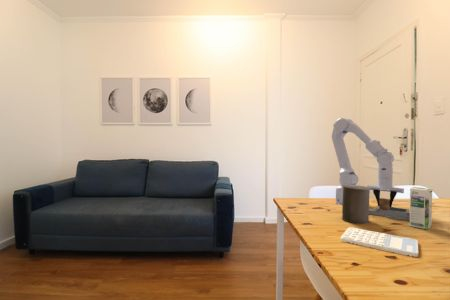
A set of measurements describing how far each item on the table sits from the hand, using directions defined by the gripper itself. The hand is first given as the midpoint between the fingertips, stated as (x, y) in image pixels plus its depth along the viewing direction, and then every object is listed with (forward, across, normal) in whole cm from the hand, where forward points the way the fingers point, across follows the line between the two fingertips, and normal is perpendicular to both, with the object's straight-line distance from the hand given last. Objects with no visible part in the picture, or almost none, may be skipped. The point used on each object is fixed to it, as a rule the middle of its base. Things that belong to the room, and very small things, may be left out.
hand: (384, 206), depth 120 cm
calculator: (+2, +2, -48) cm, 48 cm away
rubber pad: (+2, 0, 0) cm, 2 cm away
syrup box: (+2, +13, -20) cm, 24 cm away
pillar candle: (+2, -8, -26) cm, 28 cm away
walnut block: (+1, 0, 0) cm, 1 cm away
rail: (+2, 0, -12) cm, 13 cm away
